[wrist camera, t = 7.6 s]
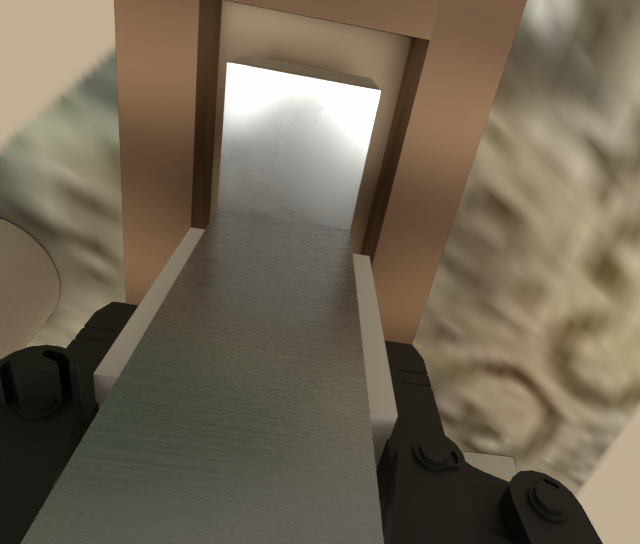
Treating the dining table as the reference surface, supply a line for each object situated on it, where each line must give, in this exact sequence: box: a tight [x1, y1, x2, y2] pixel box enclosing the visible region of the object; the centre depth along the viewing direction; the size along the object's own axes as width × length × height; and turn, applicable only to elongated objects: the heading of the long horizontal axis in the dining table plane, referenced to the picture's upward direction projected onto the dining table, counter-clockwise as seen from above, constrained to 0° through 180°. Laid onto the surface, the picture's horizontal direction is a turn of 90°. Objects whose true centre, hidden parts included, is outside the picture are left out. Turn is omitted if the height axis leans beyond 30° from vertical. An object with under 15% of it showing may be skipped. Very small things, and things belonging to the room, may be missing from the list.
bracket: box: [21, 55, 384, 544], centre depth 10 cm, size 8×4×14 cm, turn 170°
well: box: [114, 0, 527, 344], centre depth 18 cm, size 15×12×4 cm
